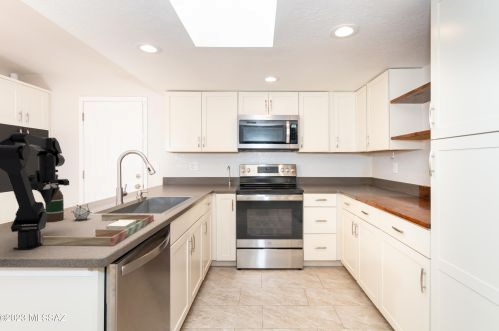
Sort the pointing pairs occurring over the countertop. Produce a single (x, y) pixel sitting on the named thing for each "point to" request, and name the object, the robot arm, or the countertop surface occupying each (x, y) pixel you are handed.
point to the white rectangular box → (121, 224)
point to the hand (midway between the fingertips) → (47, 204)
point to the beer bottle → (55, 207)
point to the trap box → (103, 232)
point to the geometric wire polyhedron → (81, 212)
